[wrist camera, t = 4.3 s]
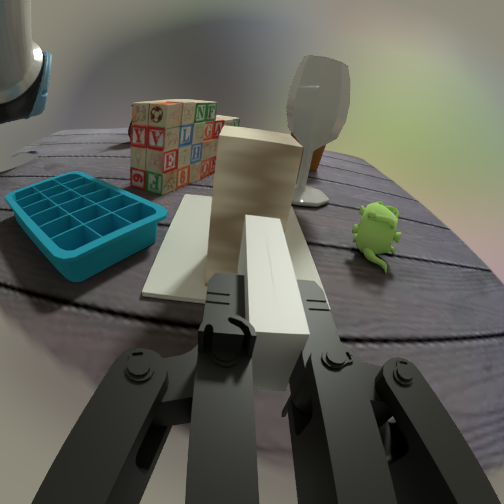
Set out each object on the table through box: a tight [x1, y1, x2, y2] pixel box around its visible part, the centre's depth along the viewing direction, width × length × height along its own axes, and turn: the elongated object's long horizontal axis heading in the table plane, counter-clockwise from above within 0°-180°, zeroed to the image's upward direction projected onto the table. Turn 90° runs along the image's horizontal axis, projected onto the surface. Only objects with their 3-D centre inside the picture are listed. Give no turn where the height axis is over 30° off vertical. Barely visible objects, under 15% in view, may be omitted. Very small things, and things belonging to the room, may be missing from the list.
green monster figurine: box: [352, 201, 401, 273], centre depth 29 cm, size 6×5×6 cm
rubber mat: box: [142, 194, 331, 311], centre depth 29 cm, size 14×20×1 cm
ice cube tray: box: [5, 171, 168, 282], centre depth 26 cm, size 12×20×3 cm, turn 58°
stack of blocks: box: [130, 99, 240, 195], centre depth 42 cm, size 21×6×12 cm, turn 156°
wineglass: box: [286, 55, 350, 207], centre depth 37 cm, size 9×9×21 cm
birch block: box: [205, 125, 303, 286], centre depth 21 cm, size 5×5×11 cm
